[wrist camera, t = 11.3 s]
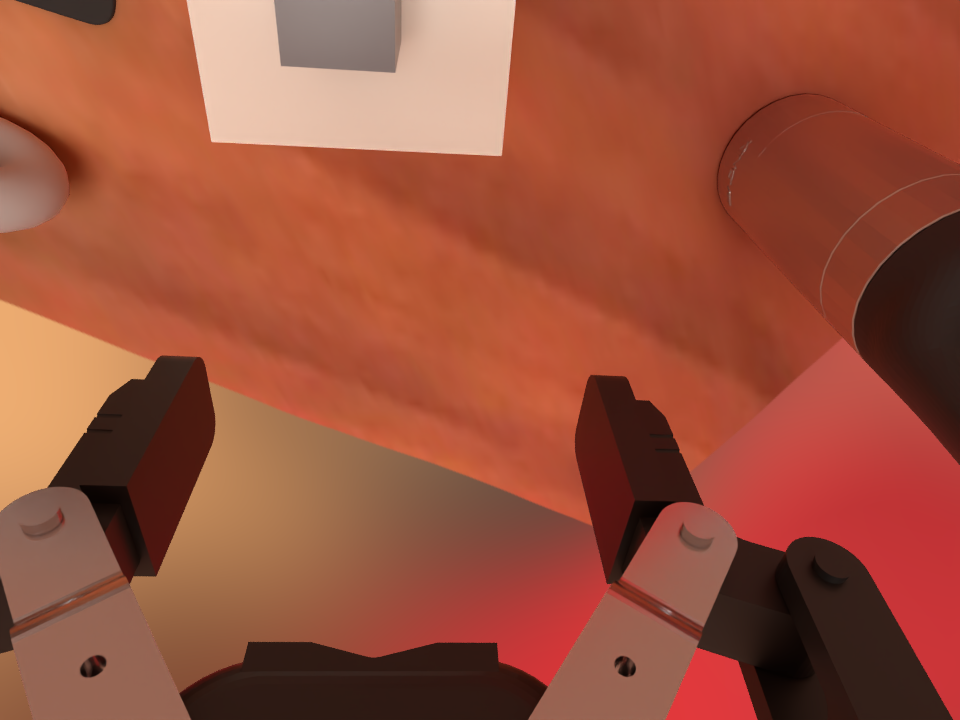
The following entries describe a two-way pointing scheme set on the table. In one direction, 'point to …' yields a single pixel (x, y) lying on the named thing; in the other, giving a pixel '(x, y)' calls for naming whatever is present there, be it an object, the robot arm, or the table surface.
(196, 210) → the table surface
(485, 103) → the lid
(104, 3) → the phone
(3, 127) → the donut
